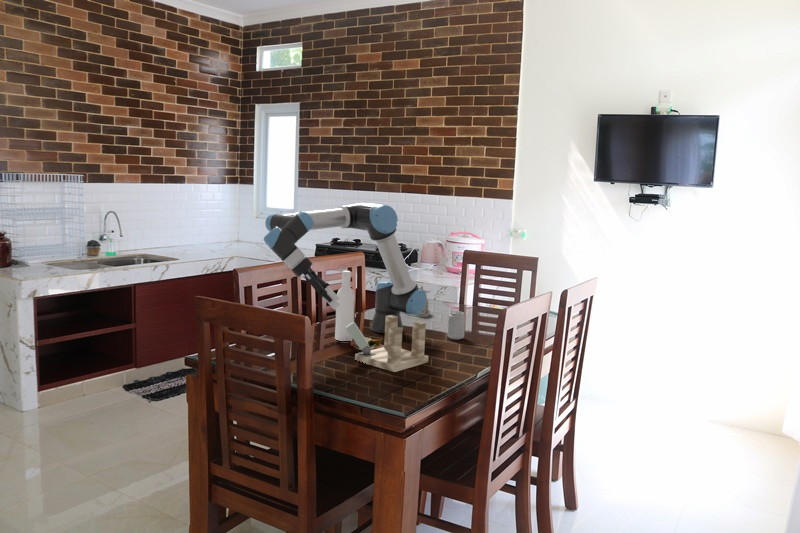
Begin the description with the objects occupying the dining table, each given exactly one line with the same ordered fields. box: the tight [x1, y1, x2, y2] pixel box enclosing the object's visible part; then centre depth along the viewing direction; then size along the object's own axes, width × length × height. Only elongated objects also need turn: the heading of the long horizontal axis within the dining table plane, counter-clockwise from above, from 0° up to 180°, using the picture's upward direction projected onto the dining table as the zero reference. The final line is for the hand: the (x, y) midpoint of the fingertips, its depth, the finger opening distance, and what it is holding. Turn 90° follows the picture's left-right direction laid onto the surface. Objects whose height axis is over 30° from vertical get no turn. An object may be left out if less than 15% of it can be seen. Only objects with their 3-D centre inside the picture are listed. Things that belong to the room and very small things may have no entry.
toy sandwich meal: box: [350, 336, 384, 352], centre depth 264 cm, size 12×14×5 cm
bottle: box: [334, 270, 356, 341], centre depth 274 cm, size 8×8×30 cm
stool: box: [354, 315, 429, 373], centre depth 246 cm, size 20×20×16 cm
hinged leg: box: [346, 321, 371, 355], centre depth 244 cm, size 4×4×13 cm
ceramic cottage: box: [400, 285, 431, 318], centre depth 339 cm, size 16×16×15 cm
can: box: [446, 310, 466, 341], centre depth 289 cm, size 8×8×12 cm
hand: (337, 304), depth 242 cm, fingers open, 13 cm apart
